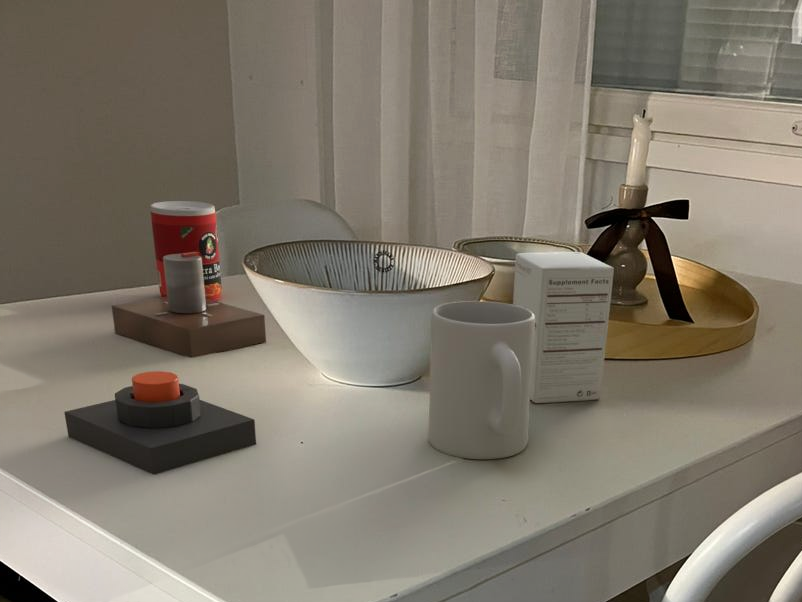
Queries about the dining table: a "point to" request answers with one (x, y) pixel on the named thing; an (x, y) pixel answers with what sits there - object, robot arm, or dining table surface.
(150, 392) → the button
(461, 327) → the mug
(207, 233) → the canned food
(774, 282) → the dining table surface
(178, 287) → the dial
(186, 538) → the dining table surface
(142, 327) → the dial panel
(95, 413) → the button base
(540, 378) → the white packaging box
